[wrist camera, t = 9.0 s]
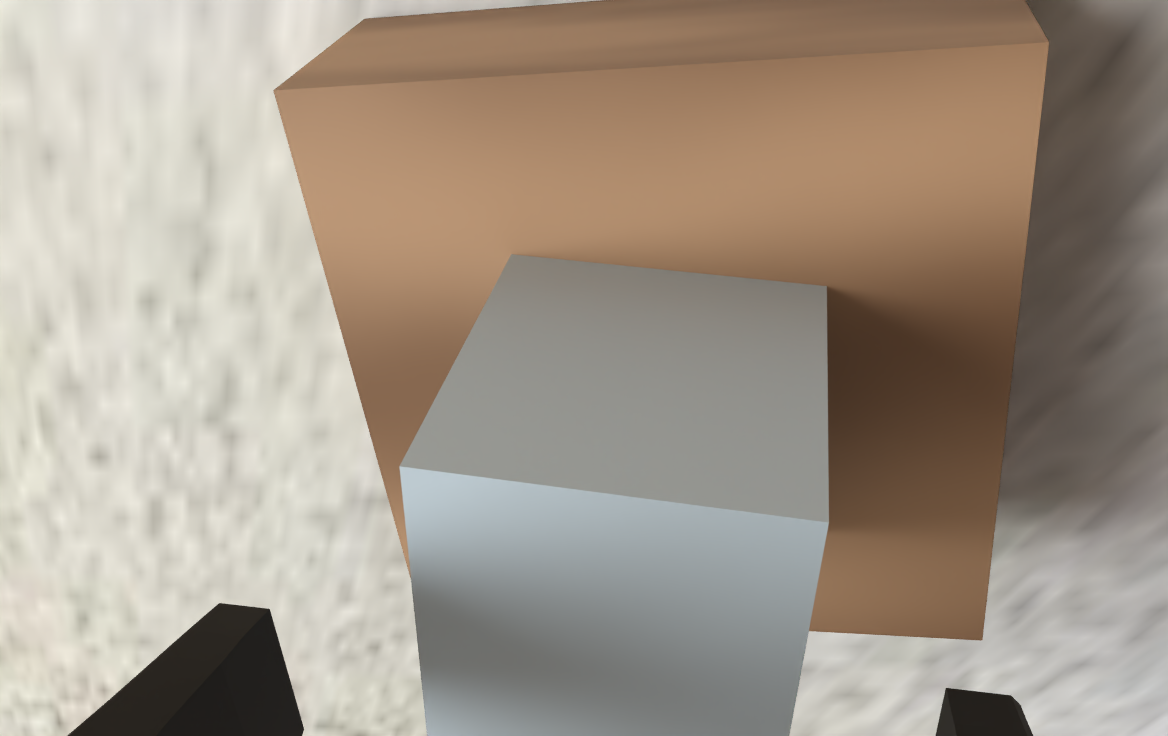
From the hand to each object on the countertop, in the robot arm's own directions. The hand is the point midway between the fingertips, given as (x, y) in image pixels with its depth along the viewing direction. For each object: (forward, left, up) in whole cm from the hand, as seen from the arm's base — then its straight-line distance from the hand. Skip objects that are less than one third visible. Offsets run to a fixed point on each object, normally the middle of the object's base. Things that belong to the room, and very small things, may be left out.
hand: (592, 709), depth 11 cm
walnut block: (0, 0, -10) cm, 10 cm away
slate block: (0, 0, -6) cm, 6 cm away
